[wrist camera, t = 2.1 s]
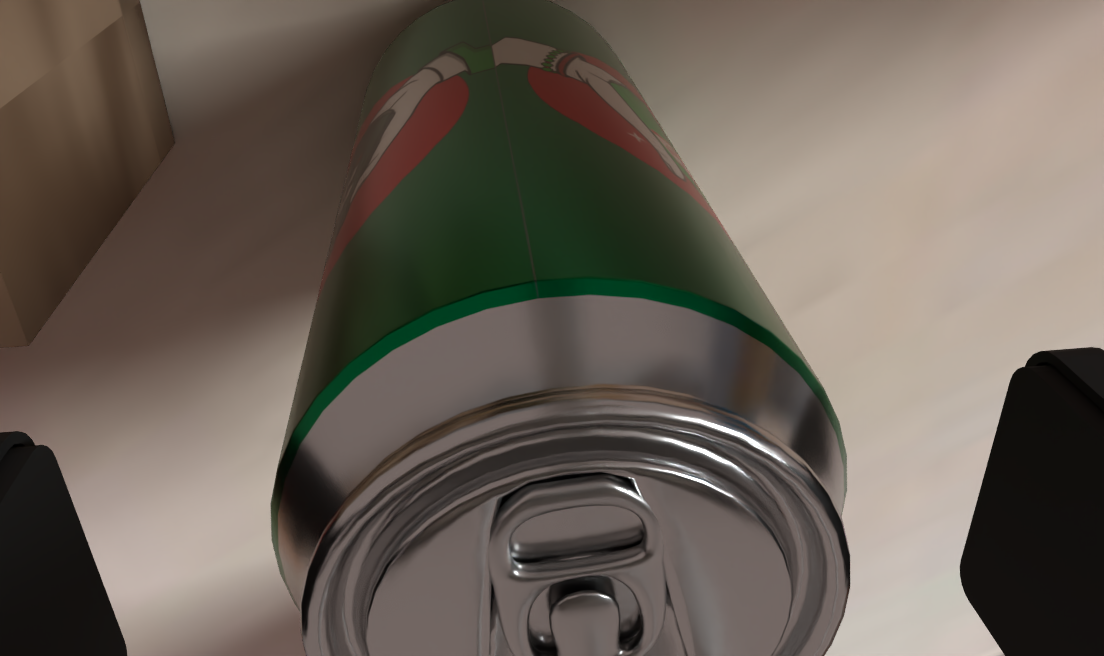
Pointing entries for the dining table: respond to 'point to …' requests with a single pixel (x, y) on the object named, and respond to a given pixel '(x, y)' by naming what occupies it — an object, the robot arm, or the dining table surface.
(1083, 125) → the dining table surface
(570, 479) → the soda can
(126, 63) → the well block
